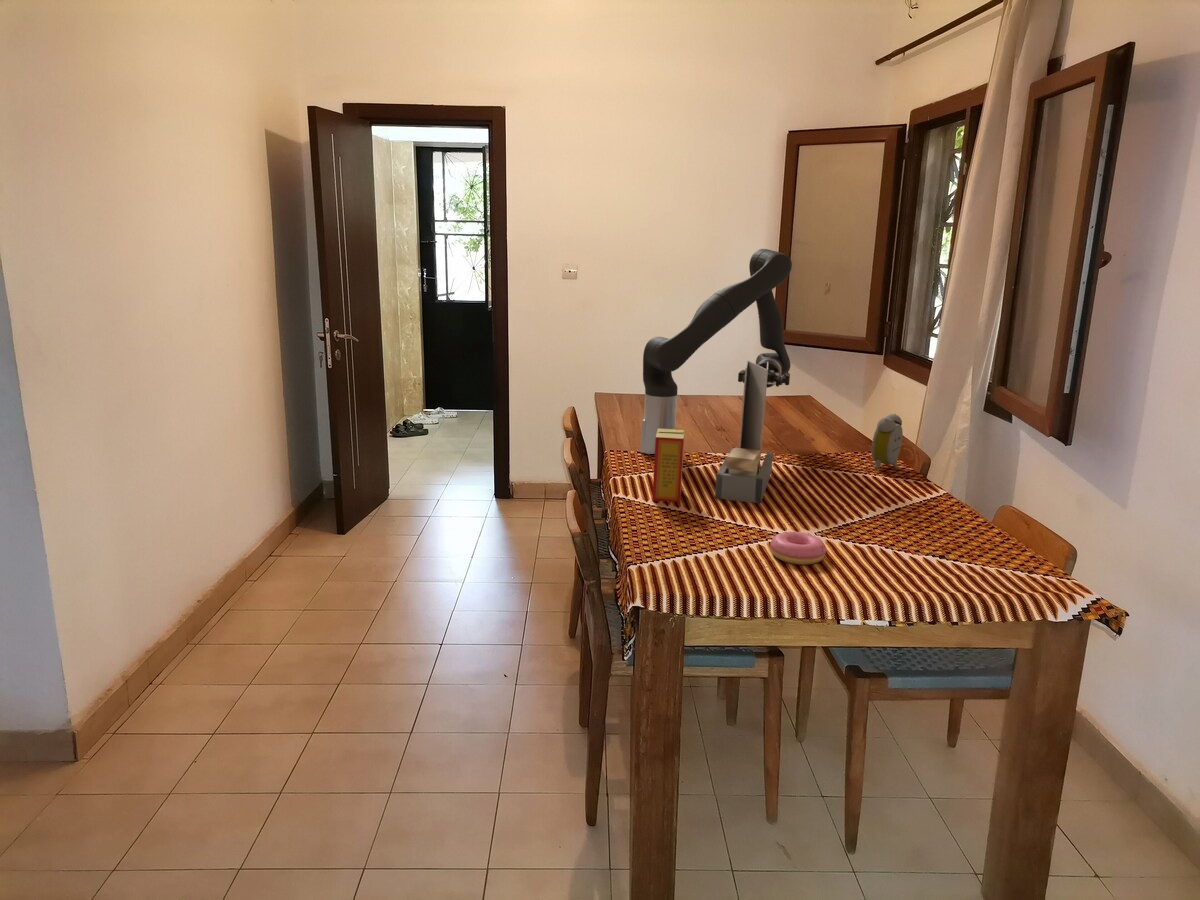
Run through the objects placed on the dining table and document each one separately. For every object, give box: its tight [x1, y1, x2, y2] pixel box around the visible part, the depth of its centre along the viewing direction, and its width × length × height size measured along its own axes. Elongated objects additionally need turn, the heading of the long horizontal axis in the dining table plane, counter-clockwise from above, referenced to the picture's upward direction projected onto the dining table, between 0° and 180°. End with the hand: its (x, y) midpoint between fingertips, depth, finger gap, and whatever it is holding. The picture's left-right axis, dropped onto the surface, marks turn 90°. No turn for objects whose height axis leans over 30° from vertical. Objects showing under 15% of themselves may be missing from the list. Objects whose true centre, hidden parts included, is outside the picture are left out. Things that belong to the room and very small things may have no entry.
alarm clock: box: [870, 413, 904, 471], centre depth 228 cm, size 12×7×15 cm, turn 145°
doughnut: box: [769, 531, 828, 566], centre depth 163 cm, size 11×11×4 cm
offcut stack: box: [726, 447, 761, 477], centre depth 202 cm, size 7×10×10 cm
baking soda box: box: [651, 428, 686, 503], centre depth 197 cm, size 10×6×16 cm
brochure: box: [738, 360, 768, 475], centre depth 213 cm, size 14×6×30 cm, turn 168°
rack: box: [714, 447, 774, 504], centre depth 209 cm, size 11×27×6 cm, turn 163°
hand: (761, 381), depth 225 cm, fingers open, 8 cm apart
